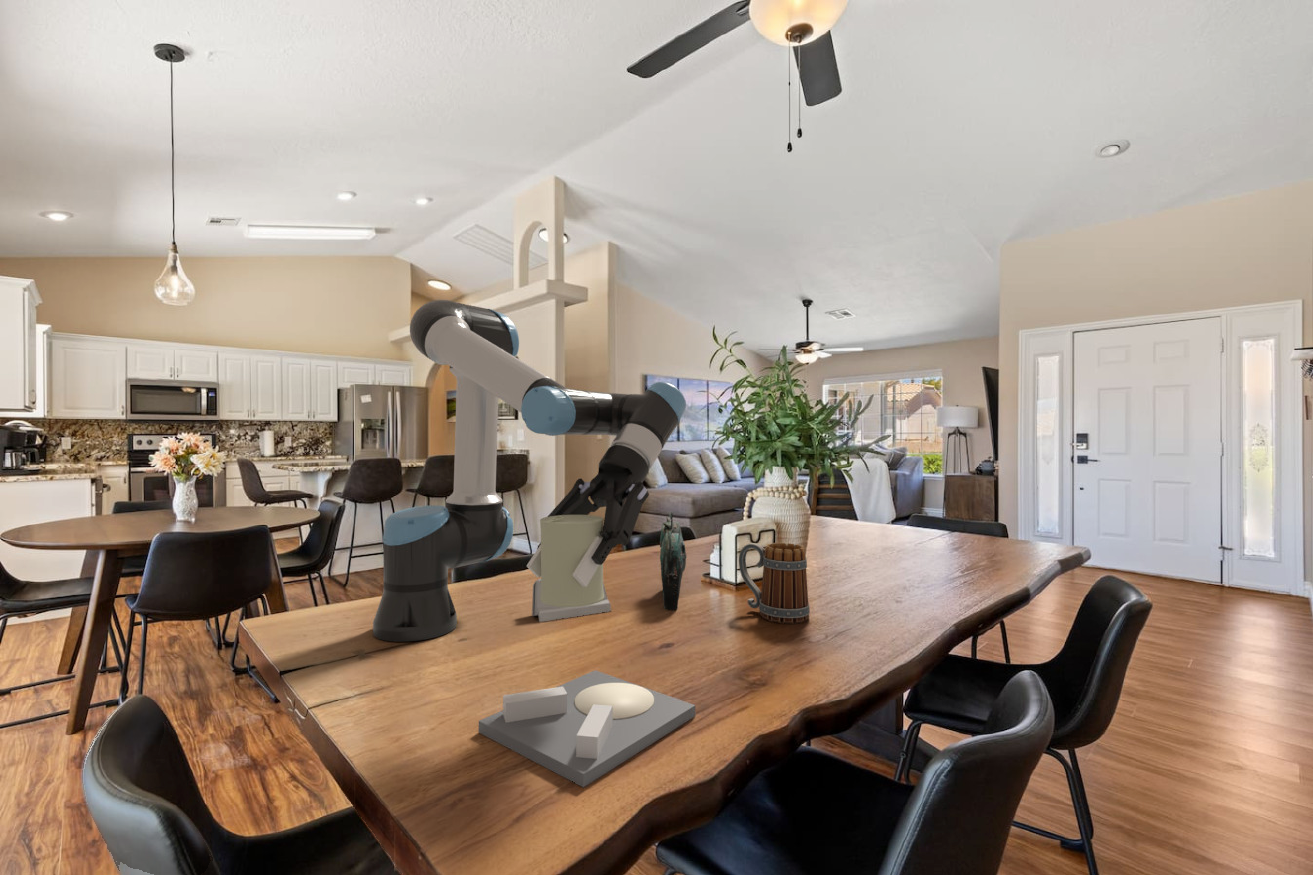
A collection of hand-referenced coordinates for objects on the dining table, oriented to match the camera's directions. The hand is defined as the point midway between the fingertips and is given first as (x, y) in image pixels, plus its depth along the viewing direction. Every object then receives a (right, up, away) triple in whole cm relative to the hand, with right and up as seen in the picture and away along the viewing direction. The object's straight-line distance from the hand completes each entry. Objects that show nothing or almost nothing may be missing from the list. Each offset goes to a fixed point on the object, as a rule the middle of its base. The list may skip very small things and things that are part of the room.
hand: (555, 576), depth 85 cm
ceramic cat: (+18, -19, +57) cm, 62 cm away
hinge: (-5, -18, +46) cm, 49 cm away
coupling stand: (+5, -19, -4) cm, 20 cm away
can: (+2, -4, +3) cm, 5 cm away
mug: (+39, -19, +45) cm, 63 cm away
